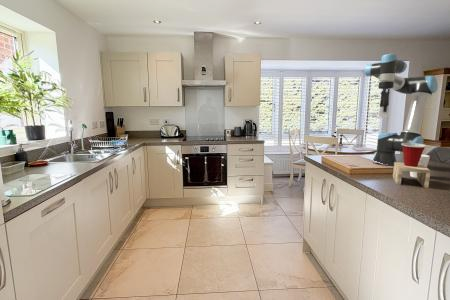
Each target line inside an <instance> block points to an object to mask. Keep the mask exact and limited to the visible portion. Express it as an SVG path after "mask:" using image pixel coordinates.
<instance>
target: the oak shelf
mask: <svg viewBox="0 0 450 300" xmlns="http://www.w3.org/2000/svg"><path fill="white" fill-rule="evenodd" d="M403 172H409V173H410V172H417V178H416V181H418V183H420V185H422V187H423V188H427V189H429V187H430V186H429V185H430V178H431V177H430V176H431V172H432V171H431V170H430V169H429V168H428V167H427V168H426V167H425V166H424V165H422V164H418V165H417V167H412V166H406V165H404V162H398V161H397V162H394V166H393V170H392V178H393V180H394V182H395V183H396V185H400V186H401V185H402V178H403Z"/></svg>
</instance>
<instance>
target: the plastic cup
mask: <svg viewBox="0 0 450 300" xmlns="http://www.w3.org/2000/svg"><path fill="white" fill-rule="evenodd" d="M401 145H402V148H403V152H402V154H403V163H404V165H406V166H412V167H417V165H418V163H419V161H420V158H421V155H423V152H424V150H425V148H426V147H427V145H426V144H424V143H423V144H418V143H401Z"/></svg>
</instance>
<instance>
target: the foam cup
mask: <svg viewBox="0 0 450 300" xmlns="http://www.w3.org/2000/svg"><path fill="white" fill-rule="evenodd" d="M430 158H431V157H430V155H428V154H422V155H421V158H420V161H419V163H418V164H422V165H424V166H425V167H426V168H428V164H429V161H430ZM409 175H410V177H411V178H415V179H417V172H409Z"/></svg>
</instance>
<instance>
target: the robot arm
mask: <svg viewBox="0 0 450 300" xmlns="http://www.w3.org/2000/svg"><path fill="white" fill-rule="evenodd" d="M397 56H398V55H397V54H396V53H388V54H383V55H381V61H380V62H375V63H369V64H367V65H366V66H365V68H364V75H365V76H367V77H375V78H376V79H378V81H379V82H378V89H380V90H381V92H380V101H379V113H378V118H381V119H386V118H387V119H388V109H389V105H390V93H391V92H390V89H391V90H392V91H395V92H398V93H400V94H405V95H410V97H412V98H411V102H410V105H409V110H408V113H407V117H406V121H405V126H404V130H402V131H400V133H399V134H398V133H397V132H388V133H387V132H386V133H380V134H378V136H377V144H376V153H375V155H374V157H373V159H372V161H373V160H374V161H377V162H380V163H383V164H388V165H387V166H389V165H394V162H398V161H397V157H396V152H400V153H401V152H402V153H403V148H402V145H401V143H418V144H423V145H424V137H422V134H421V132H420V130H421V125H422V123H423V122H422V121H423V119H424V115H425V111H426V108H427V103H428V99H431V97H432V96H433V95H432V94H435V93H436V92H437V90H438V79H437V78H436V76H434V75H423V76H422V75H421V76H415V77H414V76H413V77H402V76H398V75H397V74H403V73H404V72H405V71H406V70H407V69H408V67H407V66H408V65H407V63H406V62H405V61H404V60H402V59H398V58H397Z"/></svg>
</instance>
